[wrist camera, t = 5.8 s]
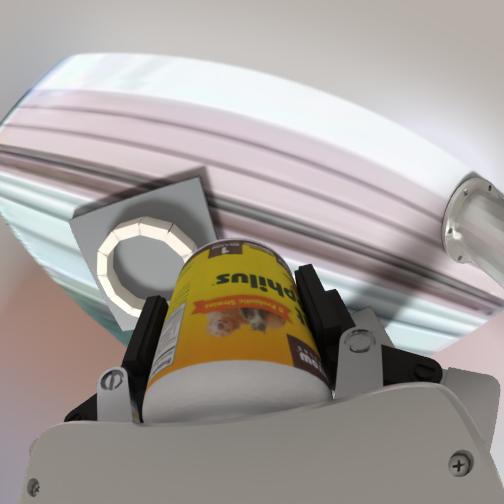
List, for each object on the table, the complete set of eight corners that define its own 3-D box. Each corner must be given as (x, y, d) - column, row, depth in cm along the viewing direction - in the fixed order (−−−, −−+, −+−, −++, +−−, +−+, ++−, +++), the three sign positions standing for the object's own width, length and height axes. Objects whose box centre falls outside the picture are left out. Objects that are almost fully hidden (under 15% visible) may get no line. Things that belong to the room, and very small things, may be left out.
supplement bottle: (314, 269, 14) (401, 469, 4) (249, 341, 16) (266, 520, 6) (216, 208, 12) (182, 455, 3) (160, 297, 14) (107, 494, 5)
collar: (199, 175, 27) (195, 182, 24) (238, 306, 34) (239, 322, 31) (72, 218, 27) (59, 227, 25) (125, 326, 34) (118, 341, 32)
